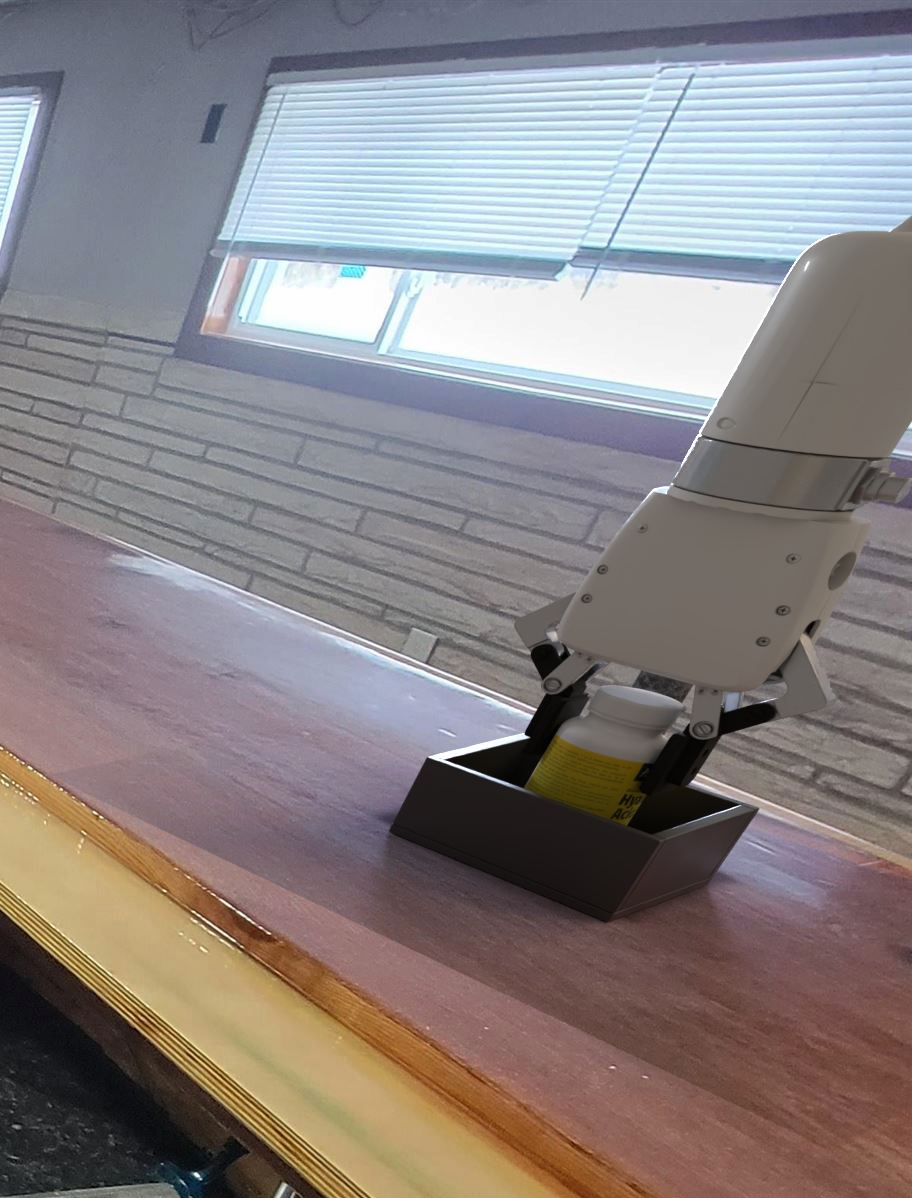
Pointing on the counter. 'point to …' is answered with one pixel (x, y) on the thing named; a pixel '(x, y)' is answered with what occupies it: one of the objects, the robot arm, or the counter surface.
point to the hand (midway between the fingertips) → (597, 768)
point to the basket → (567, 832)
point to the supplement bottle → (606, 752)
